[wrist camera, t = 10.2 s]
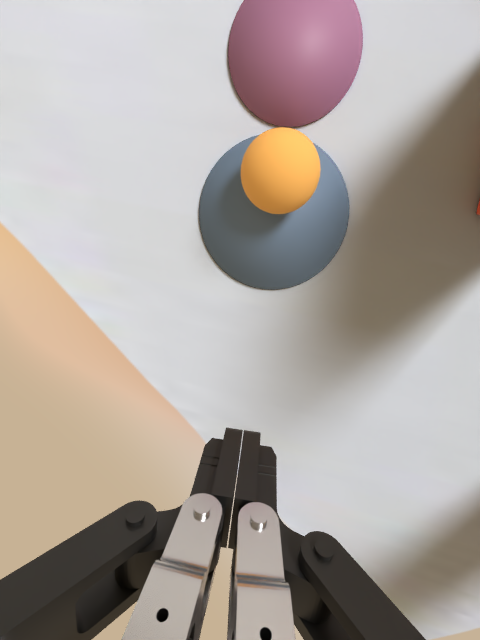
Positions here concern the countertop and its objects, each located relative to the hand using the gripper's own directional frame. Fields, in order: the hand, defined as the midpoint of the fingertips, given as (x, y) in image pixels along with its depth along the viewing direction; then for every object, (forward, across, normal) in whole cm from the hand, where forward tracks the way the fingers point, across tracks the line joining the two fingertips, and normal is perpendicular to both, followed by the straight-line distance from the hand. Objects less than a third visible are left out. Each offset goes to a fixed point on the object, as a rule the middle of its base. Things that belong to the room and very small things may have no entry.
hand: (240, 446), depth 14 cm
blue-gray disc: (+19, 0, -9) cm, 21 cm away
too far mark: (+19, 0, -21) cm, 28 cm away
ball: (+16, 0, -12) cm, 20 cm away
